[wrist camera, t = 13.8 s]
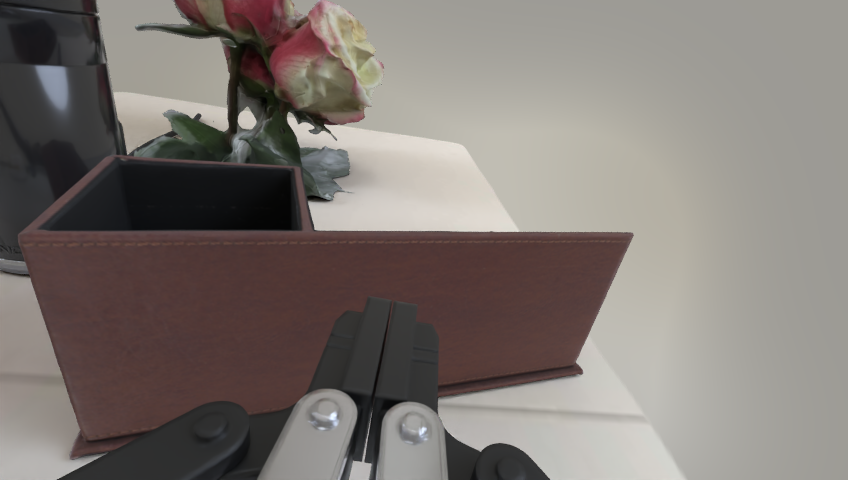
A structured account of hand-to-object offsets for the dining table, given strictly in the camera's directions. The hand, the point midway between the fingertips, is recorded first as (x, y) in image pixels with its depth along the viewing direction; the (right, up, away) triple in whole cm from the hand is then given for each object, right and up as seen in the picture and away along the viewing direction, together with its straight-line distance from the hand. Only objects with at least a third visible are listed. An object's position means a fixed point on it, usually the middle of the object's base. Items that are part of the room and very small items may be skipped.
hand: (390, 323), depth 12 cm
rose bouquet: (-21, +13, +46) cm, 52 cm away
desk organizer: (-3, -5, +15) cm, 16 cm away
